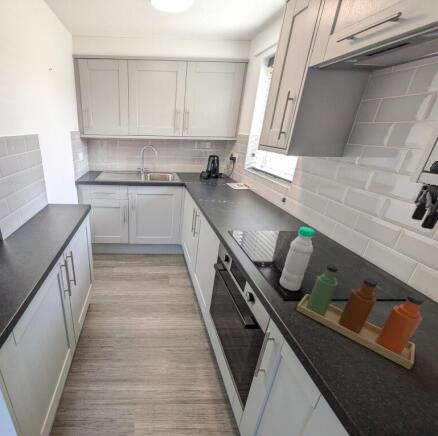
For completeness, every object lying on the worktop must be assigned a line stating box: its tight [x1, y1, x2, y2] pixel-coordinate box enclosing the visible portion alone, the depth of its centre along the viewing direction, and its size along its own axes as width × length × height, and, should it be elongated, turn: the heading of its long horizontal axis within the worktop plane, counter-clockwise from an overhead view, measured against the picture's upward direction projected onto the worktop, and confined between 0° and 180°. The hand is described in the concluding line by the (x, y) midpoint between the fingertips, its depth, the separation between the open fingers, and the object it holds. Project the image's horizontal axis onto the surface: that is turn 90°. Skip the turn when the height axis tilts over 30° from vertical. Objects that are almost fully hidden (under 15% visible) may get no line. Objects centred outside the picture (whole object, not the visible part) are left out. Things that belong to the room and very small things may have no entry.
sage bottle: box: [307, 263, 339, 316], centre depth 75 cm, size 5×5×18 cm
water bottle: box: [279, 226, 315, 292], centre depth 87 cm, size 7×7×25 cm
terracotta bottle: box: [375, 293, 425, 355], centre depth 63 cm, size 5×5×18 cm
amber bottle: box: [338, 277, 378, 334], centre depth 69 cm, size 5×5×18 cm
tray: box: [295, 293, 416, 370], centre depth 72 cm, size 27×9×2 cm, turn 41°
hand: (421, 223), depth 68 cm, fingers open, 8 cm apart
